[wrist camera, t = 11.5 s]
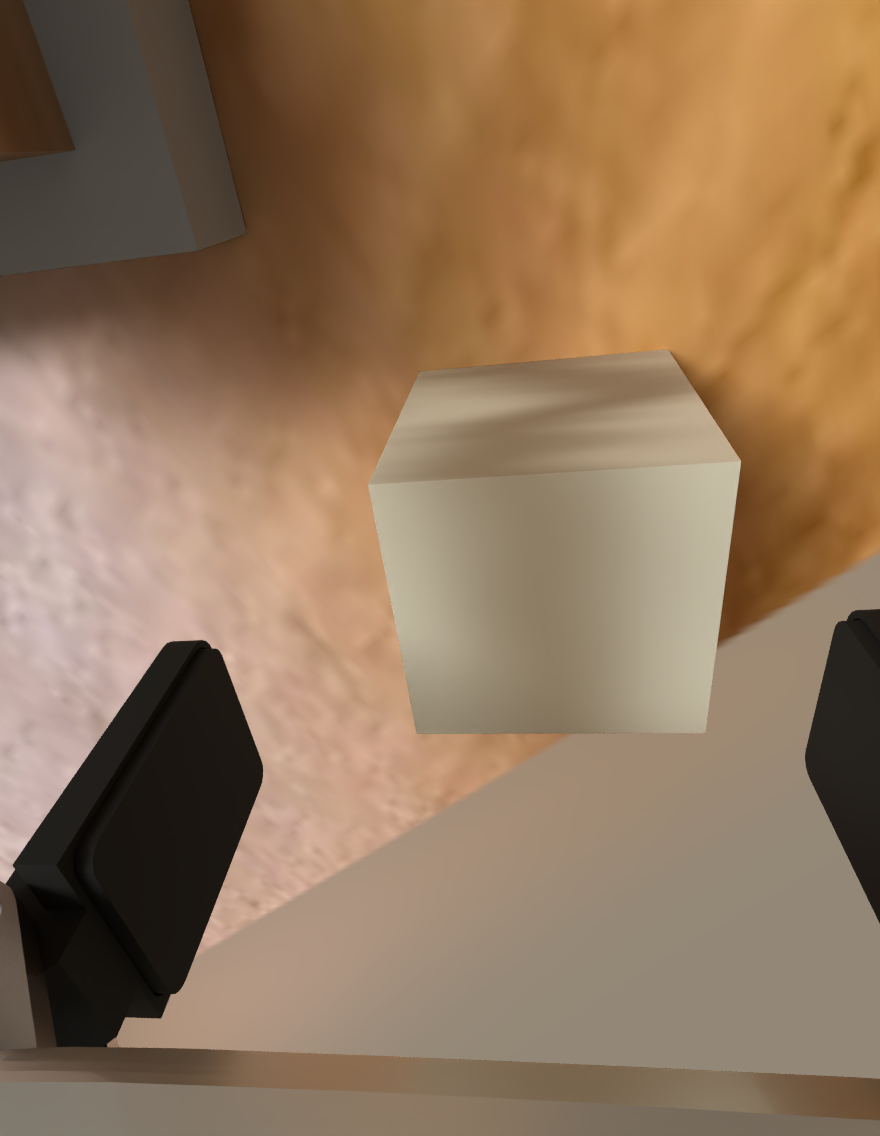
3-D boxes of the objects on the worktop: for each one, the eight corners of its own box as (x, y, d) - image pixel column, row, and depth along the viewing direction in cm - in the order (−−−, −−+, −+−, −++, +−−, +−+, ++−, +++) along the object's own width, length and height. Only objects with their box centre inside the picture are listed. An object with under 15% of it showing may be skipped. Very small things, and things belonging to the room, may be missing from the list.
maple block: (667, 348, 14) (741, 460, 9) (654, 561, 17) (706, 733, 12) (420, 371, 15) (368, 484, 10) (446, 569, 18) (416, 733, 13)
